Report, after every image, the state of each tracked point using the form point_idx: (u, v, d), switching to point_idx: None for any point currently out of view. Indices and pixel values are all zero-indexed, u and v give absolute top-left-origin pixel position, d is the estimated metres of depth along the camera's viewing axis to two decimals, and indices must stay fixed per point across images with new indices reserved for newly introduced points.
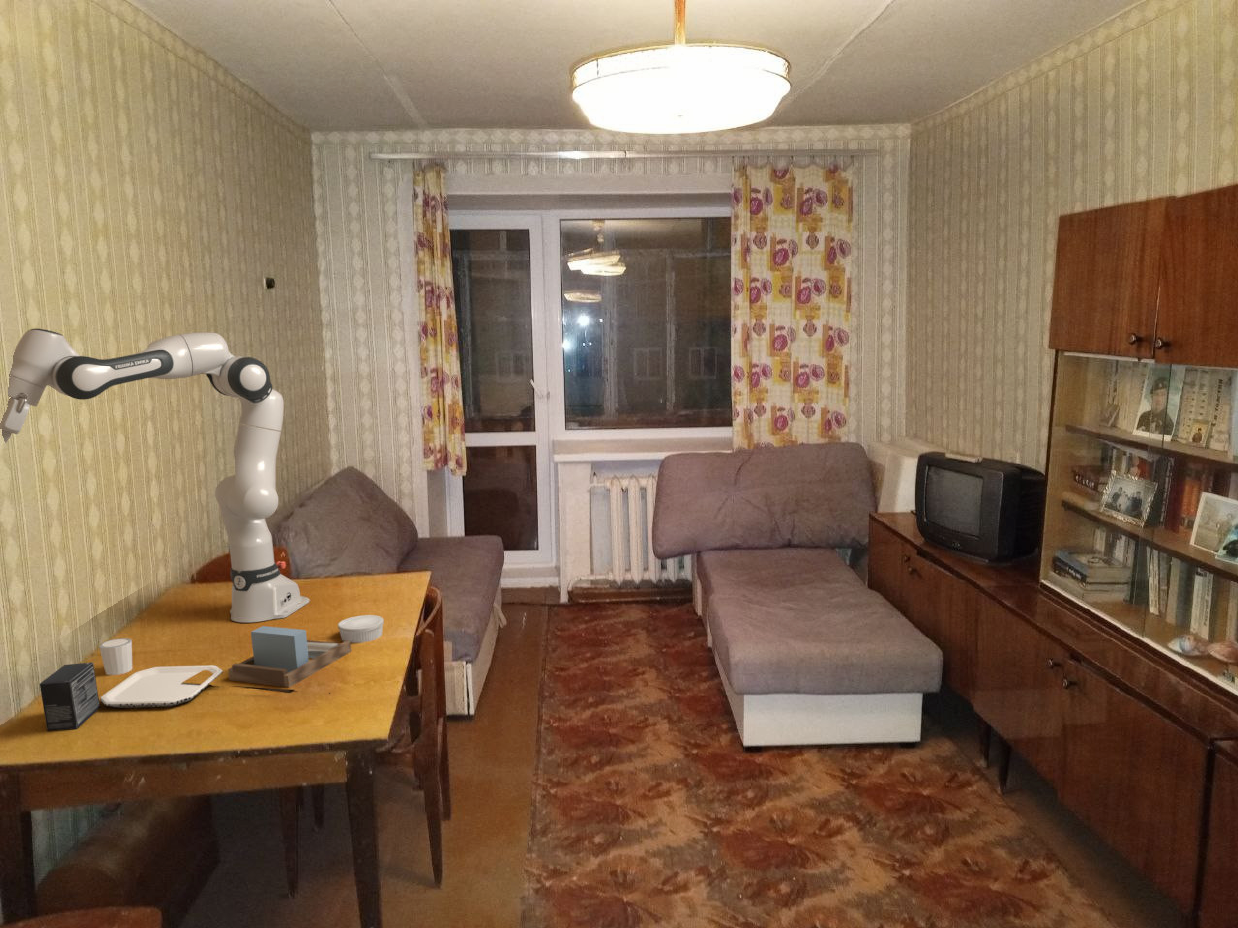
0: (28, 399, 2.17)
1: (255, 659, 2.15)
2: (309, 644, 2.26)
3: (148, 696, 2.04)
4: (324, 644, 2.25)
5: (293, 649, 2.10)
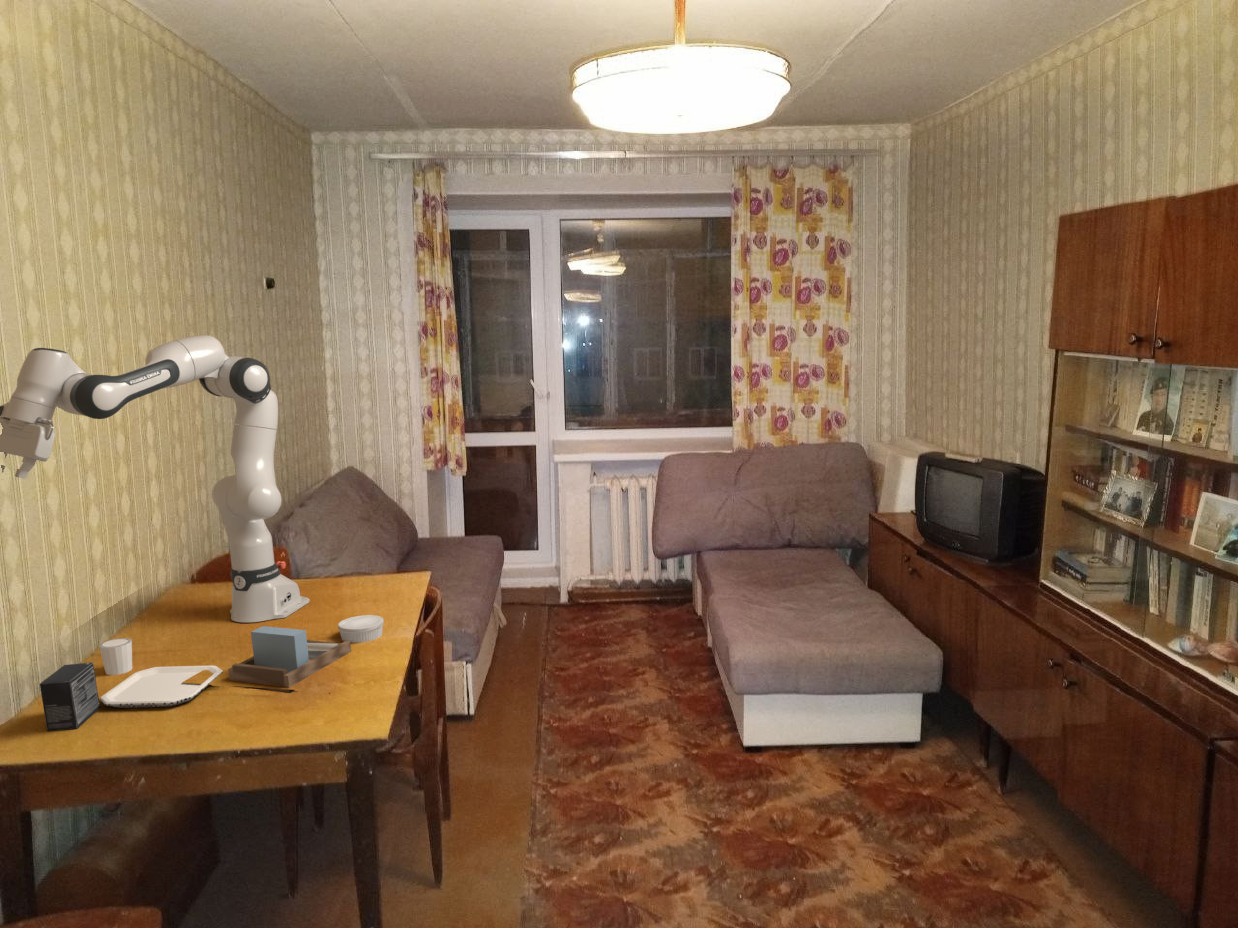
0: None
1: (255, 659, 2.15)
2: (309, 644, 2.26)
3: (148, 696, 2.04)
4: (324, 644, 2.26)
5: (294, 649, 2.10)
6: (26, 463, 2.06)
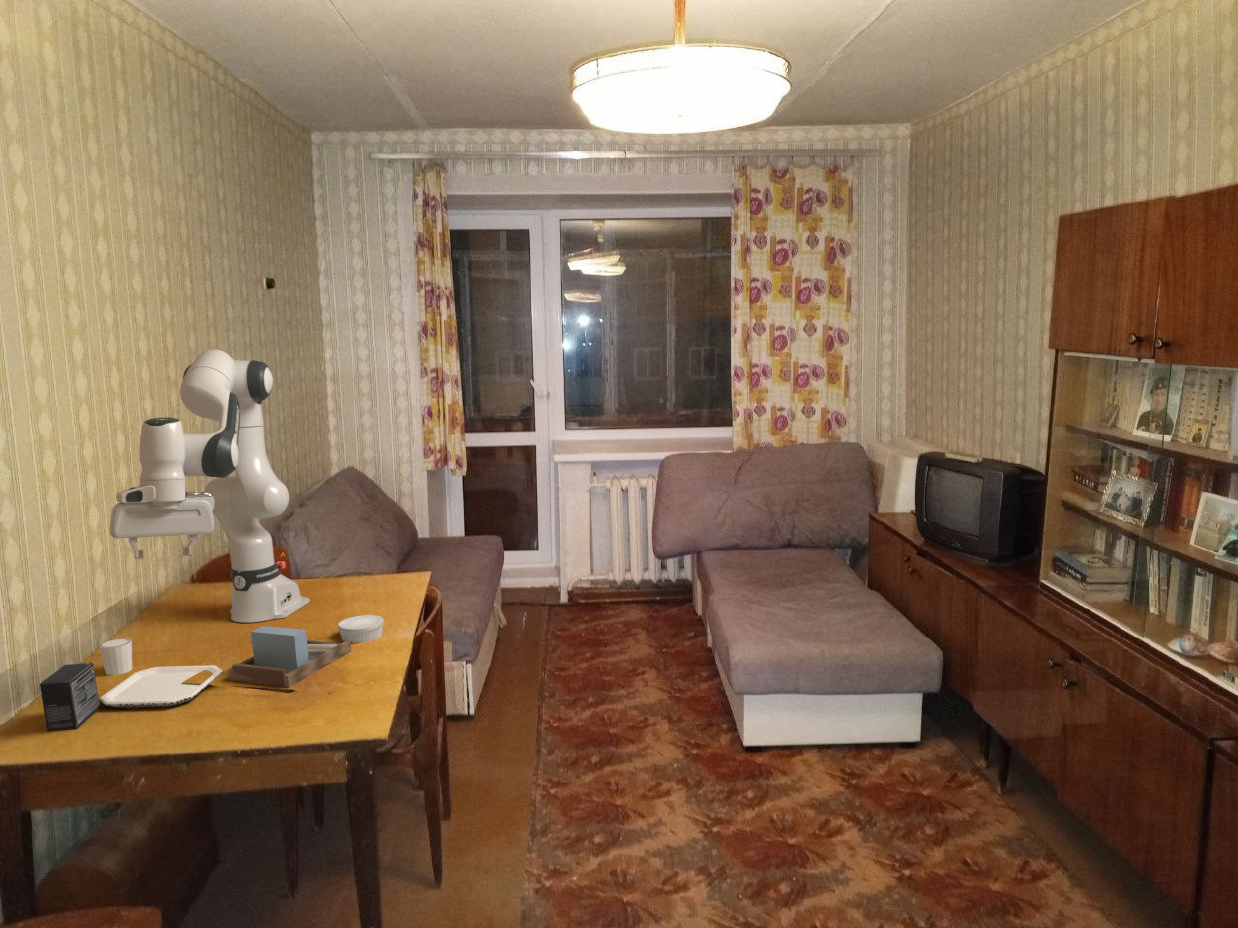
0: None
1: (255, 659, 2.15)
2: (308, 645, 2.25)
3: (148, 696, 2.04)
4: (323, 645, 2.25)
5: (294, 649, 2.10)
6: None
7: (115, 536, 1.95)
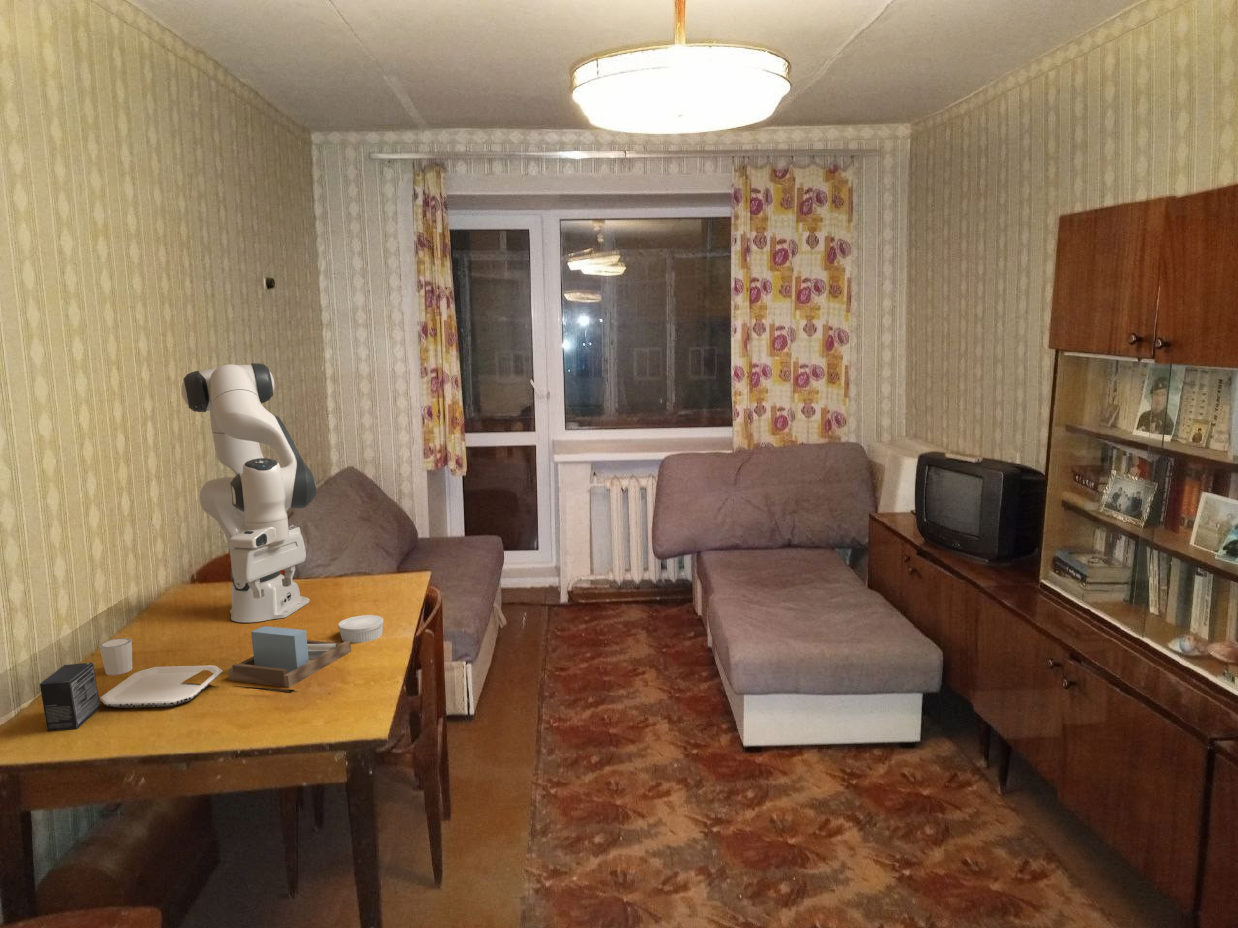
0: None
1: (255, 659, 2.15)
2: None
3: (148, 696, 2.04)
4: (322, 645, 2.25)
5: (294, 649, 2.10)
6: None
7: (248, 581, 2.02)
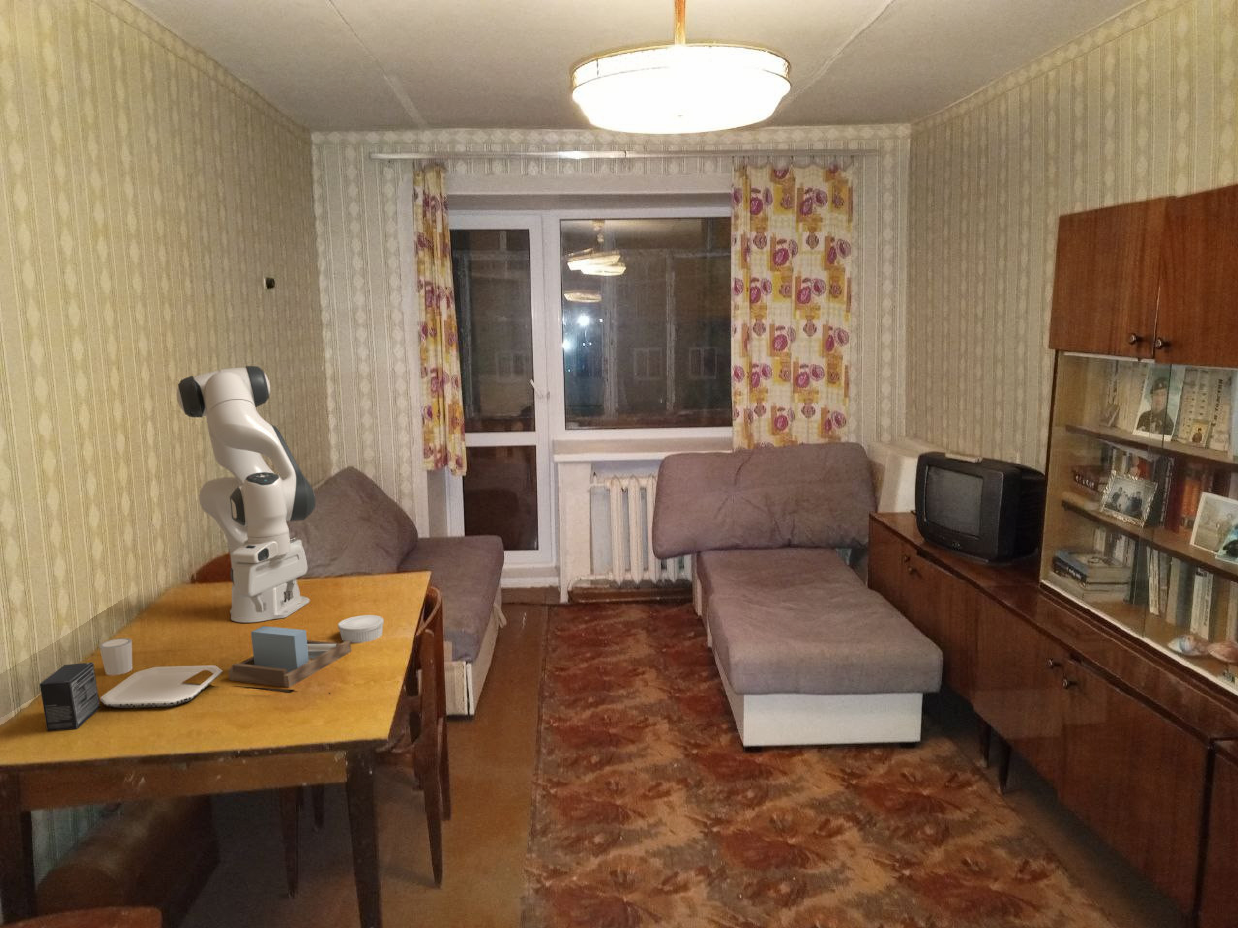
0: None
1: (255, 659, 2.15)
2: (307, 645, 2.25)
3: (148, 696, 2.04)
4: (322, 645, 2.25)
5: (294, 649, 2.10)
6: None
7: (250, 595, 2.02)
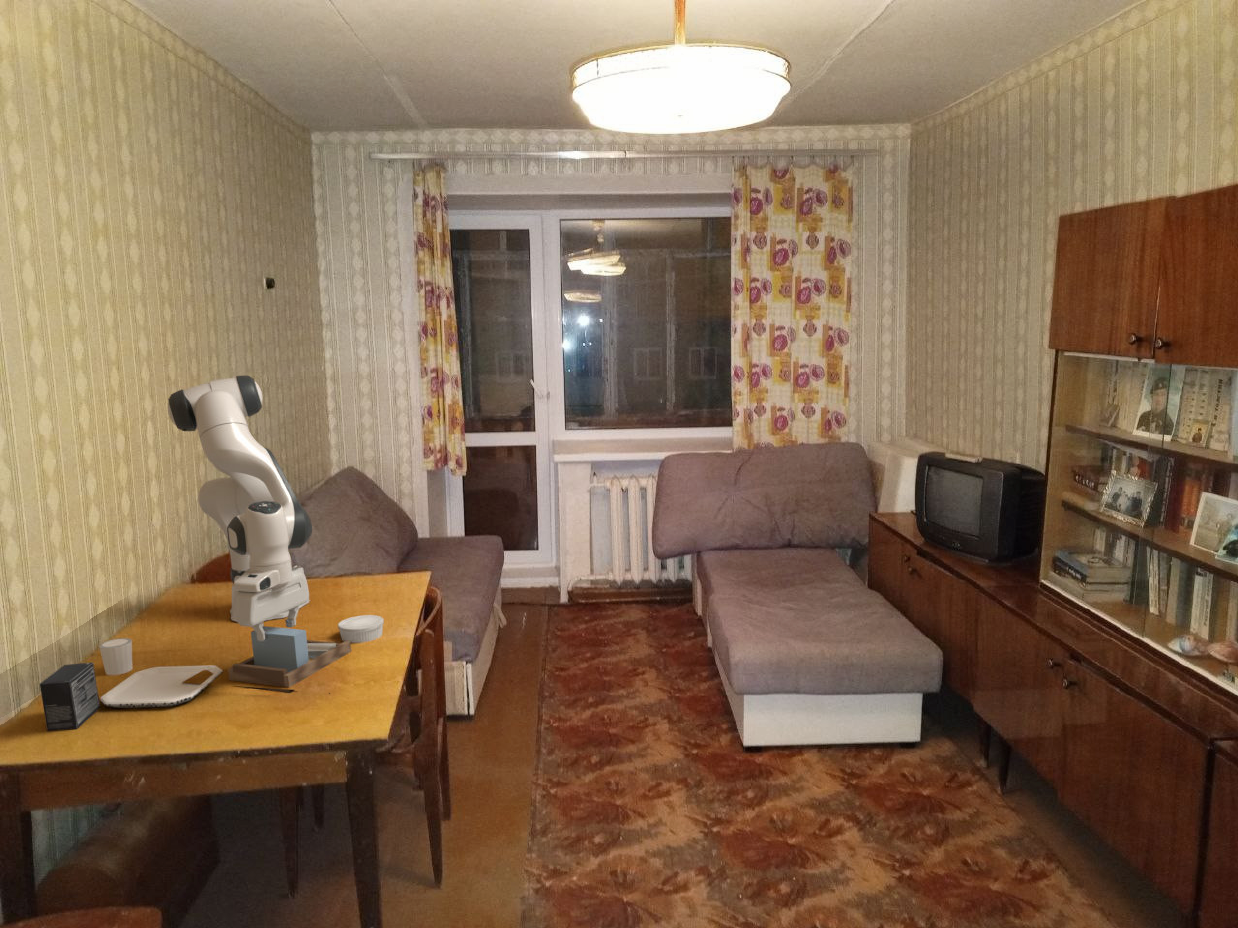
0: None
1: (255, 659, 2.15)
2: (307, 645, 2.26)
3: (148, 696, 2.04)
4: (322, 644, 2.26)
5: (293, 649, 2.10)
6: None
7: (251, 624, 2.03)
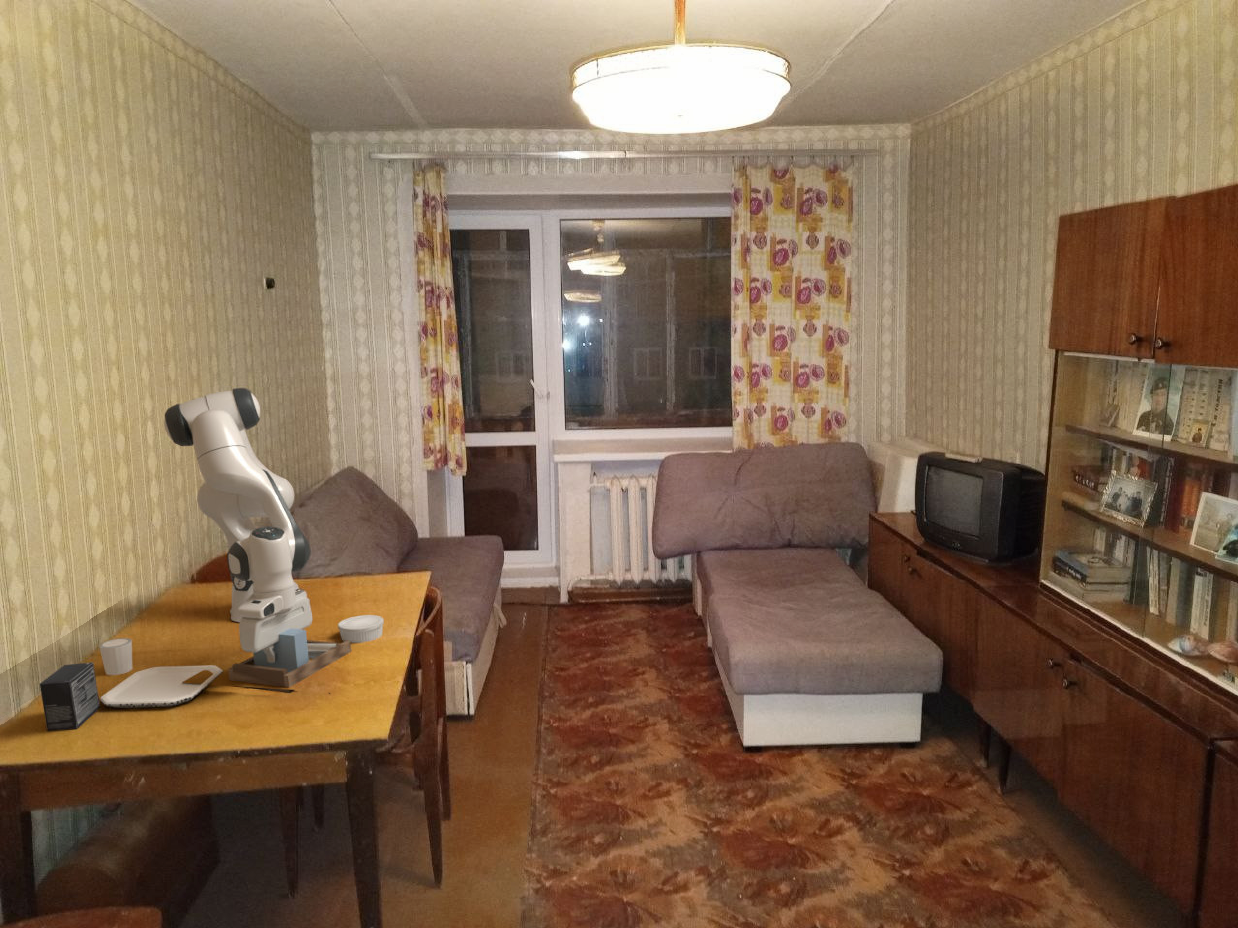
0: None
1: (255, 659, 2.15)
2: (307, 645, 2.26)
3: (148, 696, 2.04)
4: (322, 644, 2.26)
5: (294, 649, 2.10)
6: None
7: (256, 650, 2.04)
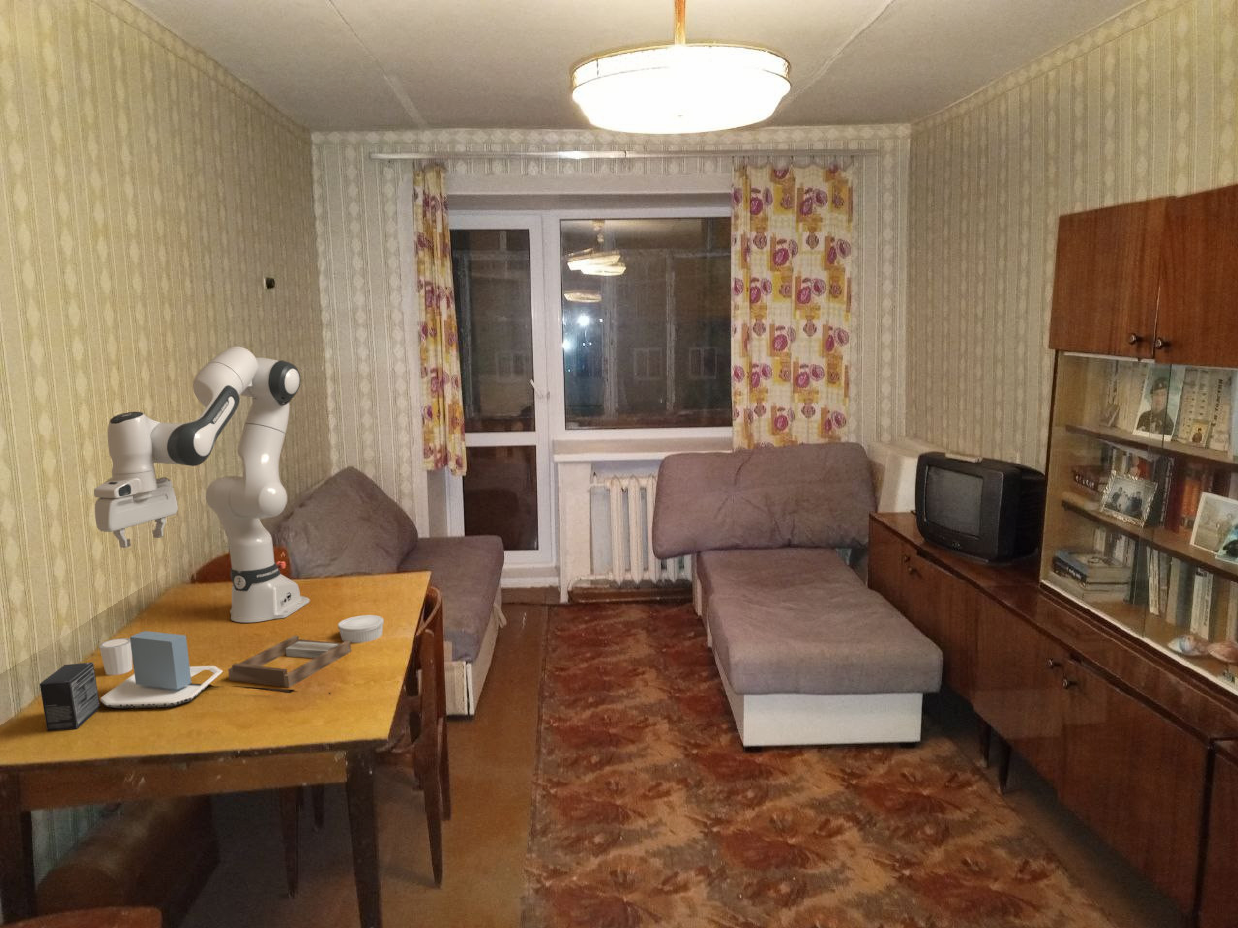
0: None
1: (135, 665, 2.09)
2: (310, 644, 2.26)
3: (148, 696, 2.04)
4: (325, 644, 2.26)
5: (171, 655, 2.04)
6: None
7: (111, 530, 2.08)
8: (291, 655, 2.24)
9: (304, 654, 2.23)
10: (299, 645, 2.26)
